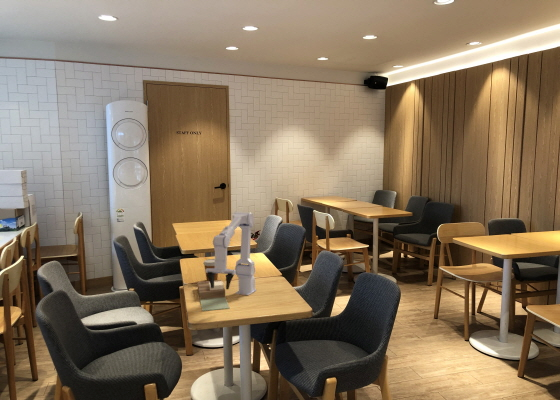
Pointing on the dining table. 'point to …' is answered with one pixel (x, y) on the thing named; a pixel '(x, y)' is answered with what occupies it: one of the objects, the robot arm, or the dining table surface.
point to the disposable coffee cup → (210, 264)
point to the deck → (209, 291)
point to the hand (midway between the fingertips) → (220, 288)
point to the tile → (217, 285)
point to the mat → (214, 304)
